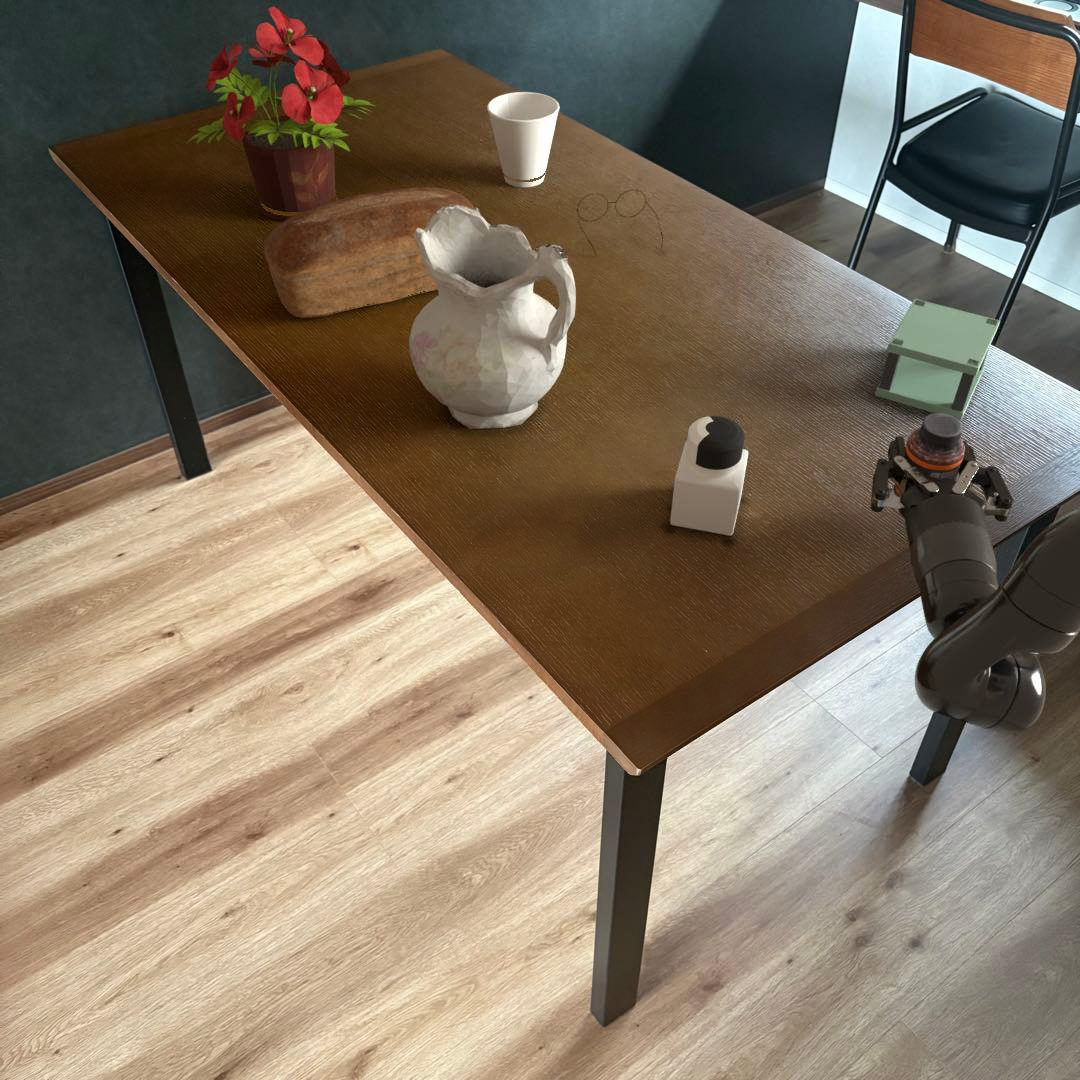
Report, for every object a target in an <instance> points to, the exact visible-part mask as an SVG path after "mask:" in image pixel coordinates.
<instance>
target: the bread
mask: <svg viewBox="0 0 1080 1080" xmlns="http://www.w3.org/2000/svg"><path fill="white" fill-rule="evenodd" d="M450 204H451V205H453V204H456V205H459V206H465V207H467V208H469V209H472V210H475V209H476V207H474V205H473V203H472V202H471V201H470V200H469V199H467V198H466V197H465V196H463V195H462V194H460V193H458V192H456V191H454V190H450V189H446V188H440V187H432V186H427V187H426V186H418V187H417V186H416V187H410V188H400V189H391V190H383V191H375V192H366V193H360V194H355V195H352V196H349V197H344V198H342V199H338V201H335V202H332V203H329V204H326V205H323V206H320V207H317V208H313V209H310V210H307V211H305V212H302V213H299V214H297V215H295V216H293V217H291V218H289V219H287V220H286V221H281V223H279V224H278V225H277V226H276V227H275V228H273V229H272V230H271V232H270V233H269V234H268V235H267V237H266V240H264V242H263V253H264V256H265V259H266V260H267V264H268V268H269V272H270V275H271V278H272V281H273V284H274V286H275V289H276V292H277V295H278V298H279V297H280V298H279V301H280V302H282V303H281V304H282V306H283V305H284V306H283V307H284V308H285V310H286V309H287V310H286V311H287V312H288V313H289V314H290V315H292V316H294V317H295V318H297V317H307V318H303V320H305V319H317V318H325V317H328V316H332V315H336V314H339V313H342V312H345V311H351V310H355V309H359V308H364V307H368V306H373V305H374V306H375V305H379V304H385V303H390V302H394V301H397V300H401V299H405V298H408V297H411V296H416V295H419V294H423V293H428V292H433V291H438V288H437V285H436V283H435V281H434V280H433V279H432V277H431V276H430V274H429V272H428V270H427V268H426V267H425V264H424V262H423V259H422V256H421V252H420V248H419V245H418V242H417V240H416V239H415V238H414V237H415V232H416V230H417V228H421V229H422V230H423V229H425V228H426V226H427V224H428V222H429V221H430V219H431V218H432V217H433V216H434V215H435V214H437V213H436V212H437V211H438V210H439V209H441V208H442V207H443V206H444V207H446V206H448V205H450ZM423 291H425V292H423ZM420 292H421V293H420ZM415 293H417V294H415ZM411 294H413V295H411ZM408 295H409V296H408ZM373 303H374V304H373ZM367 304H369V305H367ZM363 305H364V306H363ZM358 306H359V307H358ZM354 307H355V308H354ZM349 308H351V309H349ZM345 309H346V310H345ZM341 310H342V311H341ZM337 311H338V312H337ZM333 312H335V313H333ZM330 313H331V314H330ZM325 314H327V315H325ZM319 315H323V316H319ZM311 316H316V317H311Z"/></svg>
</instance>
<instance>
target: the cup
mask: <svg viewBox="0 0 1080 1080" xmlns="http://www.w3.org/2000/svg"><path fill="white" fill-rule="evenodd" d="M560 108H561V107H560V104H559V102H558V101H557V99H555V98H553V97H551V96H549V95H547V94H544V93H539V92H531V91H515V92H507V93H504V94H501V95H498V96H496V97H494V98H492V99H491V100H490V101H489V102H488V103H487V105H486V110H487V113H488V115H489V116H488V117H489V120H490V124H491V128H492V133H493V137H494V141H495V146H496V150H497V154H498V158H499V162H500V166H501V170H502V174H503V173H504V174H505V175H506V176H508V177H510V178H513V179H520V180H530V179H534V178H538V177H540V176H542V175H543V174H544V173H545V175H544V176H543V177H542V178H541V179H539V180H536V181H533V182H515V181H511V180H509V179H507V178H506V177H505V176H504V175H503V179H504V181H505V183H506V184H508V185H509V186H512V187H515V188H516V187H517V188H532V187H536V186H539V185H540V184H542V183H543V182H544V180H545V177H546V172H545V171H547V166H548V163H549V157H550V152H551V147H552V143H553V138H554V133H555V129H556V123H557V119H558V114H559V112H560Z"/></svg>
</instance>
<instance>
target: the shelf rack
mask: <svg viewBox="0 0 1080 1080" xmlns="http://www.w3.org/2000/svg"><path fill="white" fill-rule="evenodd" d="M1000 323H1001V320H999V319H995V318H991V317H987V316H983V315H979V314H976V313H972V312H968V311H965V310H960V309H957V308H953V307H948V306H945V305H942V304H937V303H933V302H930V301H927V300H922V299H919V298H914V299H913V301H912V303H911V304H910V305H909V308H908V310H907V311H906V313H905V315H904V316H903V318H902V320H901V322H900V323H899V325H898V327H897V328H896V330H895V332H894V333H893V335H892V337H891V339H890V341H889V343H888V345H887V348H886V352H887V354H886V355H887V356H886V360H885V363H884V367H883V371H882V375H881V379H880V381H879V384H878V386H877V388H876V390H875V393H874V396H875V397H878V398H881V399H886V400H889V401H892V402H895V403H898V404H902V405H905V406H909V407H913V408H916V409H919V410H923V411H926V412H930V413H932V414H935V413H942V414H947V415H950V416H952V417H954V418H956V419H957V420H959V421H960V422H961V421H962V420H963V417H964V416H965V413H966V410H967V409H968V406H969V404H970V401H971V399H972V397H973V395H974V393H975V392H976V391H975V390H976V388H977V386H978V384H979V382H980V379H981V378H982V375H983V373H984V370H985V367H986V364H985V362H986V359H987V356H988V353H989V350H990V348H991V344H992V342H993V340H994V338H995V335H996V333H997V331H998V329H999V326H1000Z"/></svg>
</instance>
